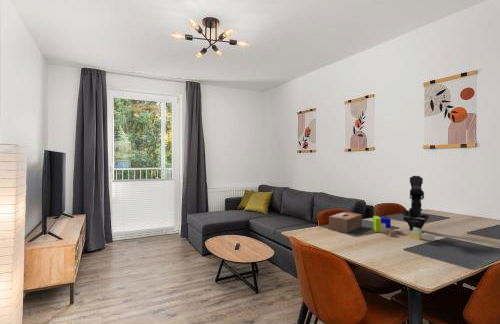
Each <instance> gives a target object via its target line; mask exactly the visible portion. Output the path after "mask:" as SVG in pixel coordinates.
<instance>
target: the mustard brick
mask: <svg viewBox="0 0 500 324" xmlns="http://www.w3.org/2000/svg"><path fill="white" fill-rule="evenodd" d="M409 238H410V239H414V240H418V241H419V240H422V239H423V233H422V234H420V235H418V234H414V233H410V232H409Z"/></svg>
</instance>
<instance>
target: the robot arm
mask: <svg viewBox="0 0 500 324" xmlns="http://www.w3.org/2000/svg"><path fill="white" fill-rule="evenodd" d="M423 181H424V179H423V177H421V176H420V175H412V176H410V177H409V184H410V190H409V199H411V200H410V201H411V202H410V204H411V205H410V207H409V210H407V209H402V210H401V215H403V217H402V220H403V221H404V222H406V223H407V225H408V227H409V229H408V231H410V230H411V231H413V228H414V227H416V228H420V229H422V230H423V227H424V225H425V224H426V222H427V221H428V220H429V219H430V218H429V216H430V215H428V214H426V213H422V211H423V210H424V209H423V208H422V206H423V205H422V201H423V200H424V198H425V192H424V190H423V189H422V184H424V182H423Z"/></svg>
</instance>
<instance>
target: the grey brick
mask: <svg viewBox="0 0 500 324" xmlns="http://www.w3.org/2000/svg"><path fill="white" fill-rule="evenodd" d="M422 239H424V240H427V241H432V242H433V241H435V240H436V235H435V234H433V233H428V232H423V233H422Z"/></svg>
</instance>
